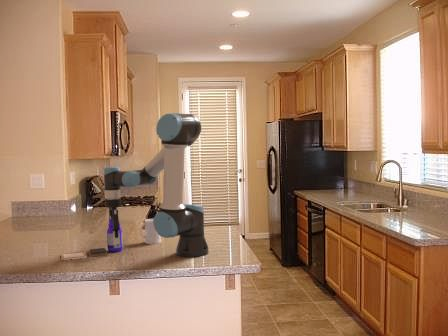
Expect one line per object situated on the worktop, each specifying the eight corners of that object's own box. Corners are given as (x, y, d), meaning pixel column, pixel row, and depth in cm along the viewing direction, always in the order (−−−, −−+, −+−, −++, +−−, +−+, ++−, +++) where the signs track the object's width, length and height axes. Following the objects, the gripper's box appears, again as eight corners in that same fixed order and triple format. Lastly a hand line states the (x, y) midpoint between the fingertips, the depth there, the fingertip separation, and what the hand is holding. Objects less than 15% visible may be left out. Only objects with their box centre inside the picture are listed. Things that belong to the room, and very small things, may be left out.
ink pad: (107, 254, 215) (107, 251, 215) (90, 256, 212) (89, 253, 212) (105, 250, 223) (105, 247, 223) (88, 252, 221) (88, 249, 221)
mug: (142, 245, 232) (141, 222, 232) (137, 242, 240) (136, 220, 239) (163, 242, 238) (163, 220, 237) (158, 239, 246) (157, 217, 245)
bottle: (123, 249, 226) (122, 214, 225) (121, 252, 220) (120, 216, 219) (109, 249, 225) (107, 215, 225) (106, 252, 220) (104, 217, 219)
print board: (86, 257, 211) (86, 256, 211) (61, 260, 207) (61, 258, 207) (85, 252, 221) (85, 251, 221) (61, 255, 217) (61, 253, 217)
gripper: (124, 200, 211) (126, 245, 212) (117, 195, 234) (118, 235, 236) (108, 201, 208) (110, 247, 210) (102, 196, 232) (104, 237, 233)
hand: (114, 241), depth 223 cm, fingers open, 13 cm apart
